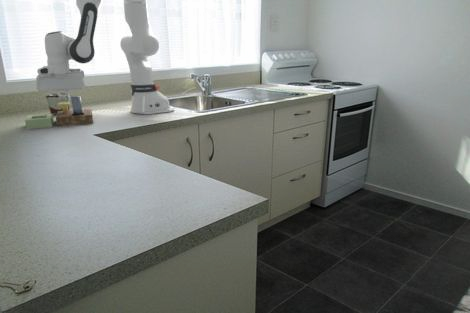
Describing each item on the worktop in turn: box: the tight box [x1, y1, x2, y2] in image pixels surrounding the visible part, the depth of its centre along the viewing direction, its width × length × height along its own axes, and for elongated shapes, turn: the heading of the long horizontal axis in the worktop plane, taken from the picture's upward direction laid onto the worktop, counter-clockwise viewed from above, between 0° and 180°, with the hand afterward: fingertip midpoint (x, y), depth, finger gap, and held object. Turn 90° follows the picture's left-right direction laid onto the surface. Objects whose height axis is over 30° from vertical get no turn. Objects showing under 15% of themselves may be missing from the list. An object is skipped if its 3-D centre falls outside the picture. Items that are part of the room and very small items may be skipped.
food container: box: [45, 92, 71, 115], centre depth 192 cm, size 12×6×10 cm, turn 84°
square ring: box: [24, 113, 54, 130], centre depth 165 cm, size 10×10×4 cm
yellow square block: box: [58, 101, 72, 113], centre depth 174 cm, size 5×5×5 cm
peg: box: [70, 95, 83, 116], centre depth 170 cm, size 4×4×12 cm
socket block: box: [55, 108, 94, 127], centre depth 173 cm, size 15×15×4 cm
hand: (63, 99), depth 173 cm, fingers closed
